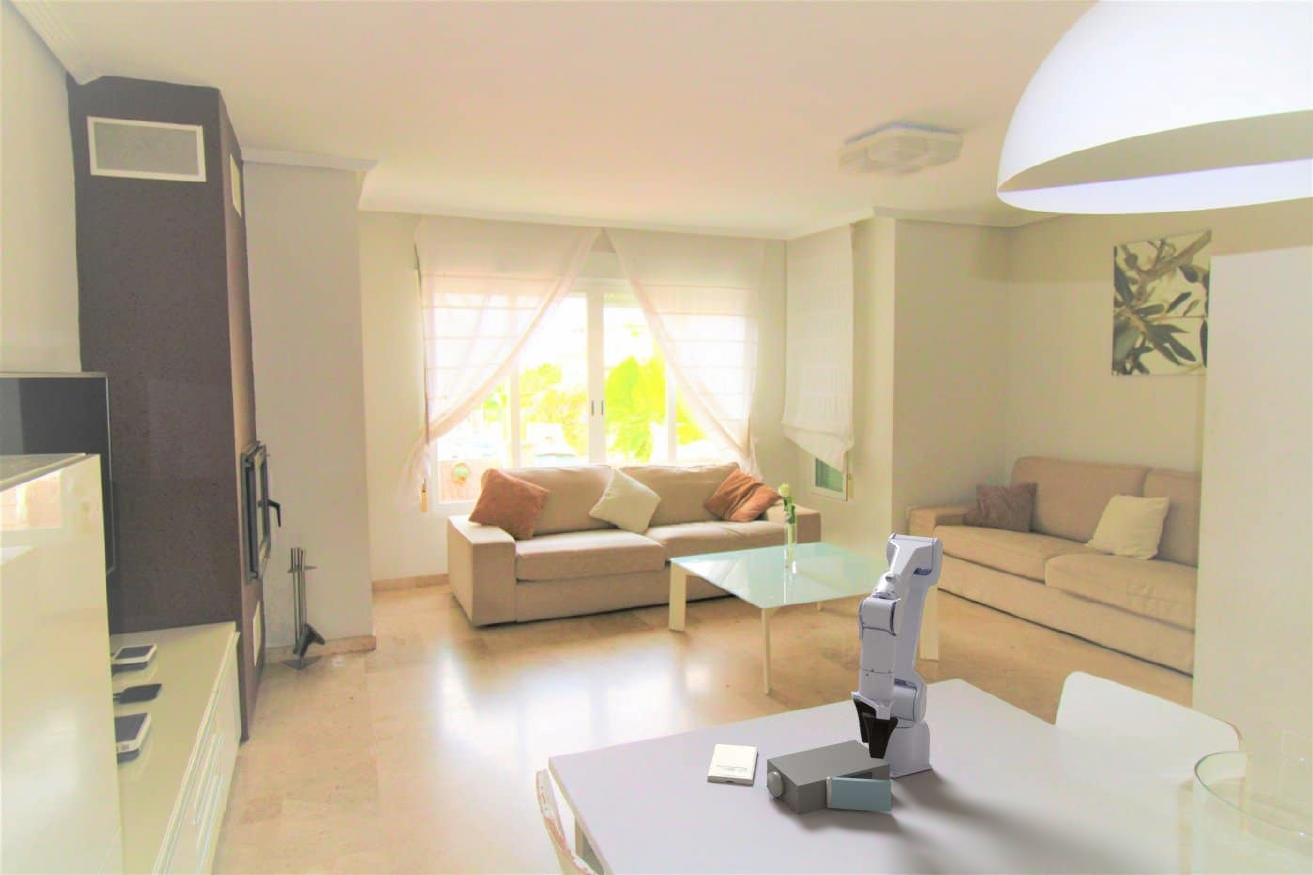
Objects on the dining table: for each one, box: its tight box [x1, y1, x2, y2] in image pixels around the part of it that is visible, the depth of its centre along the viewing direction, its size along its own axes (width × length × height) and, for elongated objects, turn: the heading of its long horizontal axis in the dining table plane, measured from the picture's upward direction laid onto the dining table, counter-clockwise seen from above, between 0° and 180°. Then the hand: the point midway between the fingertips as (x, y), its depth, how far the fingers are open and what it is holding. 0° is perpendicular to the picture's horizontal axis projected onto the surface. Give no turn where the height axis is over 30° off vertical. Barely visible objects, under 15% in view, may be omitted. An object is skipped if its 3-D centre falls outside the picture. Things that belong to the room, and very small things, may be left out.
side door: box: [826, 777, 892, 812], centre depth 133 cm, size 10×1×5 cm, turn 83°
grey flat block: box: [766, 739, 891, 815], centre depth 140 cm, size 20×10×5 cm, turn 113°
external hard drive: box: [706, 743, 758, 785], centre depth 149 cm, size 2×8×12 cm
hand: (872, 750), depth 135 cm, fingers open, 7 cm apart
